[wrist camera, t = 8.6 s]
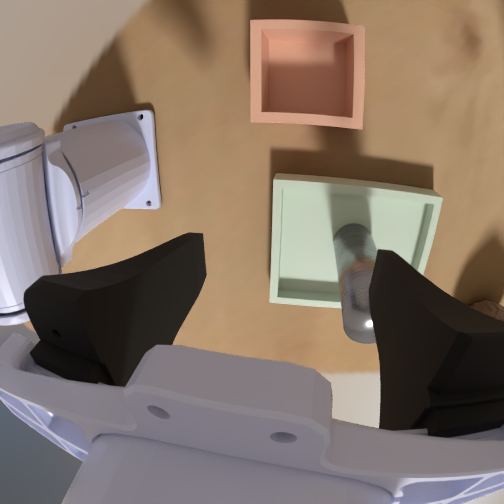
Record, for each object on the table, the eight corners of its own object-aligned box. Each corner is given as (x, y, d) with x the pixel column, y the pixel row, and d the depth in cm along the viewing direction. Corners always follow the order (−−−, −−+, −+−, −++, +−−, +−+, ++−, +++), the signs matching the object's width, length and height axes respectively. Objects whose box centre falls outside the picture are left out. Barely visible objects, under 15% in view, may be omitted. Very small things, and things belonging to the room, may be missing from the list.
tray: (272, 289, 26) (269, 302, 24) (275, 173, 21) (273, 179, 19) (405, 299, 24) (410, 311, 22) (433, 189, 19) (442, 197, 17)
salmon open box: (260, 118, 19) (250, 122, 16) (260, 34, 16) (250, 20, 13) (351, 124, 18) (362, 129, 15) (353, 39, 15) (364, 26, 12)
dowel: (332, 259, 23) (340, 344, 15) (333, 223, 21) (346, 299, 13) (370, 259, 22) (394, 342, 14) (373, 223, 21) (406, 297, 13)
